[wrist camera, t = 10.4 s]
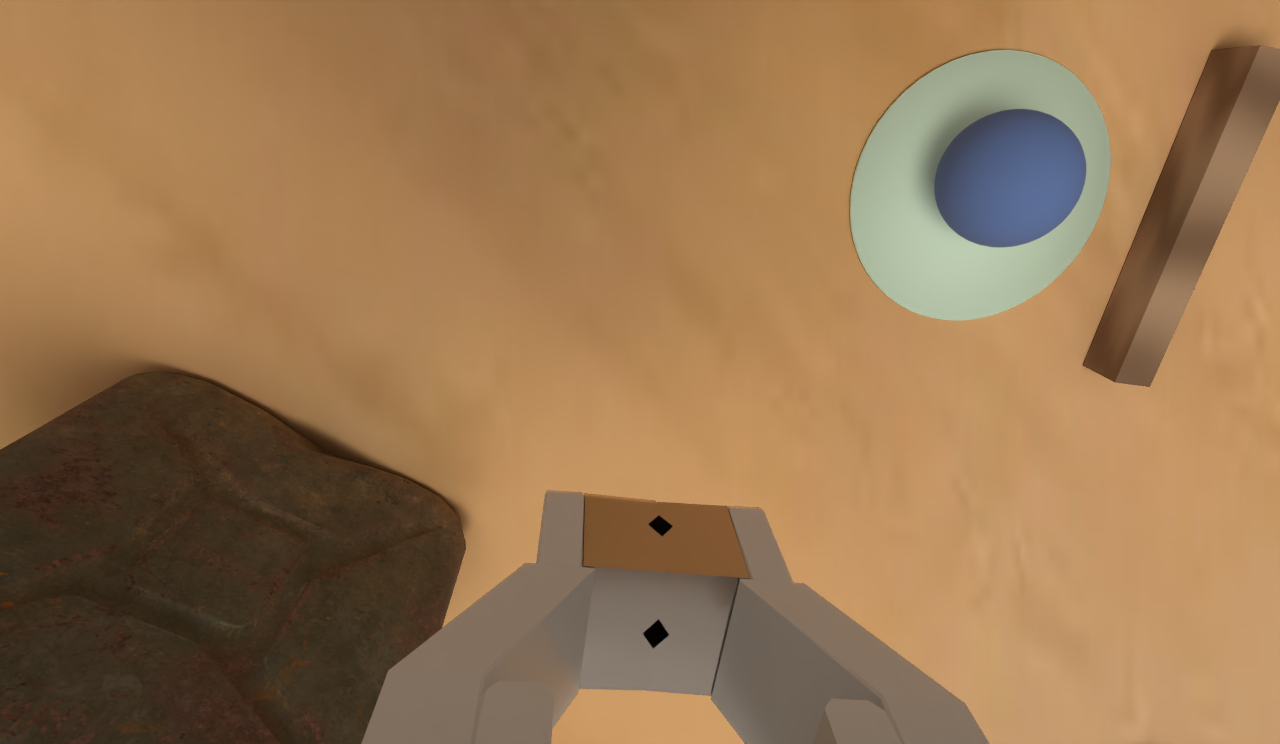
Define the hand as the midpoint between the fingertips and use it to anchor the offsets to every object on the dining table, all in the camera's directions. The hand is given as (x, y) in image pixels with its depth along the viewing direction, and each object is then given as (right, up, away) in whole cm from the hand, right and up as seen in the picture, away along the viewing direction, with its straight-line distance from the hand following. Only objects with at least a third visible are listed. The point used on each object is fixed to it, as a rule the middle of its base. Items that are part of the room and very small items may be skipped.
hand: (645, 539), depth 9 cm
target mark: (+17, +11, +24) cm, 32 cm away
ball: (+16, +11, +21) cm, 29 cm away
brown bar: (+27, +10, +25) cm, 38 cm away
